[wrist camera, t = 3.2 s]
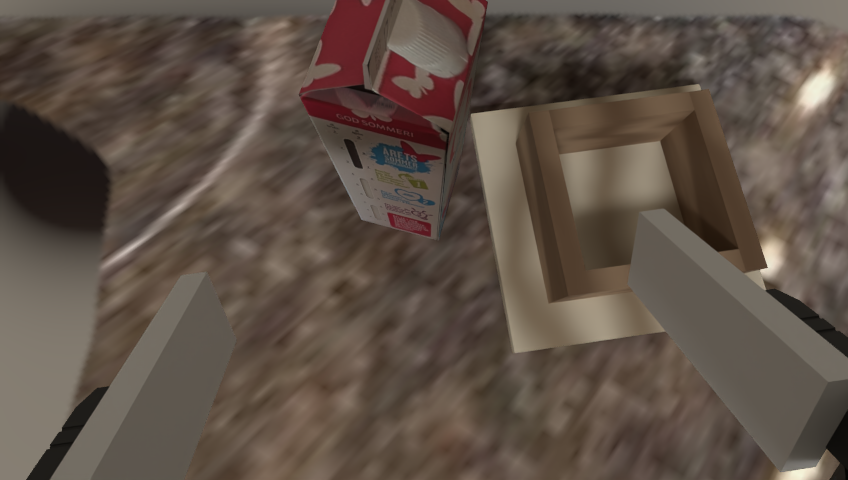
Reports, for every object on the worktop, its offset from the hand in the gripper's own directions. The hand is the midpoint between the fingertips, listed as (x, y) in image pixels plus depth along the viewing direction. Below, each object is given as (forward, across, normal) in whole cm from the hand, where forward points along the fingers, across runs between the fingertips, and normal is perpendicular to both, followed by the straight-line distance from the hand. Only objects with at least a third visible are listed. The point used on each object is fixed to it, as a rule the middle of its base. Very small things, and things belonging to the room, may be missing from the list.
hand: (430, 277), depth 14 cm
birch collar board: (+20, +16, -11) cm, 28 cm away
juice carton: (+23, 0, -8) cm, 24 cm away
